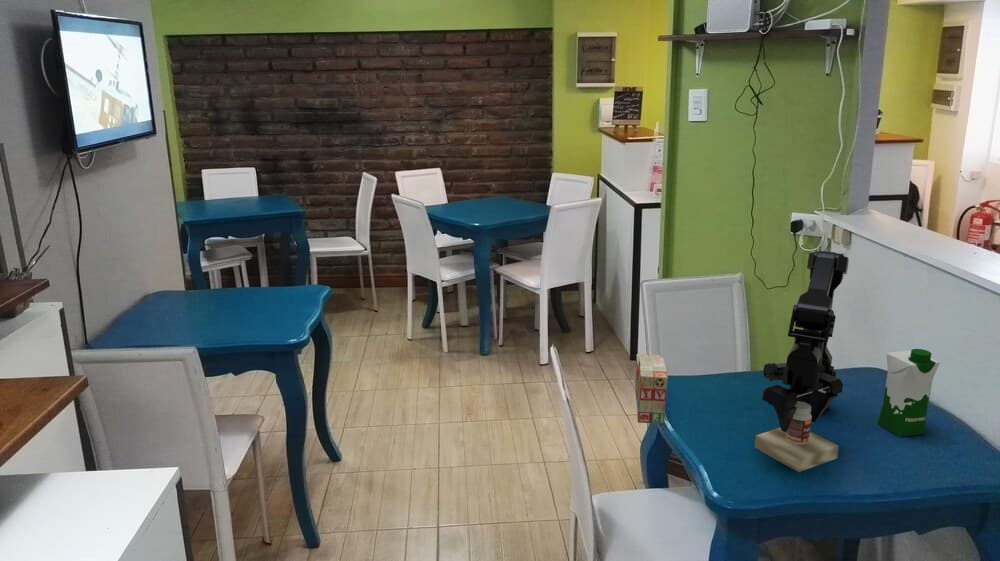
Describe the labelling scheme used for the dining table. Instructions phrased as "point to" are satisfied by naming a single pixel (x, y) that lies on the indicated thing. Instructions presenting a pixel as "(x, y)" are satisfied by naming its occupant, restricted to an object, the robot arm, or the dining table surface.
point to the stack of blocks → (651, 388)
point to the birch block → (796, 450)
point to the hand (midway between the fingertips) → (798, 426)
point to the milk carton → (907, 392)
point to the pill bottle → (800, 425)
